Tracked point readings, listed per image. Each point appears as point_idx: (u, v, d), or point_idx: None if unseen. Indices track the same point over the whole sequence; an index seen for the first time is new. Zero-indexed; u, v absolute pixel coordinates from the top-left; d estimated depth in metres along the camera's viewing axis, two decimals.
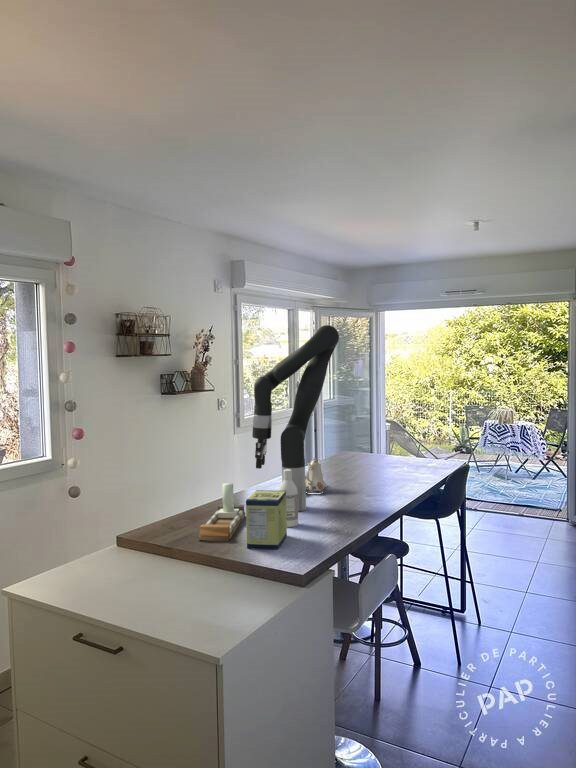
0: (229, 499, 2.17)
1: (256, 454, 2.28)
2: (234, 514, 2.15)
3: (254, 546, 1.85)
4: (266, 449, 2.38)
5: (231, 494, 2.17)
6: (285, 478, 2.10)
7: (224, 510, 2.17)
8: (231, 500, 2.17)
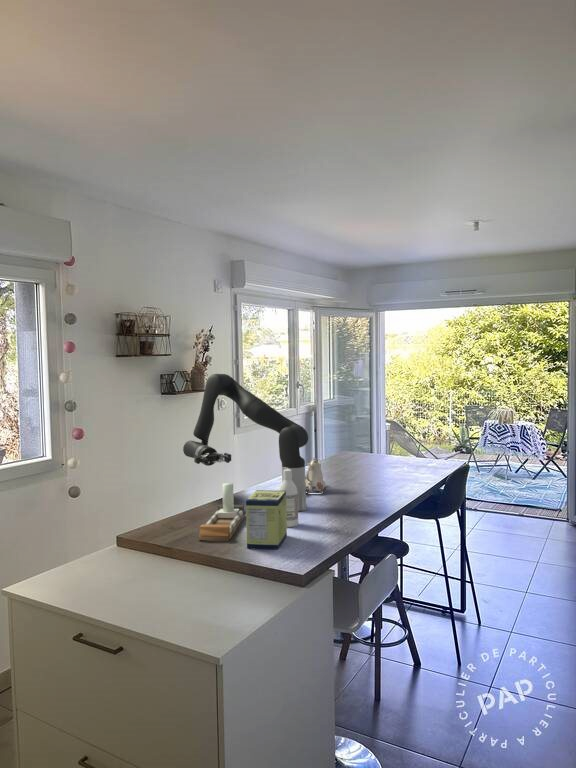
0: (229, 499, 2.17)
1: (196, 462, 2.31)
2: (234, 514, 2.15)
3: (254, 546, 1.85)
4: None
5: (231, 494, 2.17)
6: (285, 478, 2.10)
7: (224, 510, 2.17)
8: (231, 500, 2.17)
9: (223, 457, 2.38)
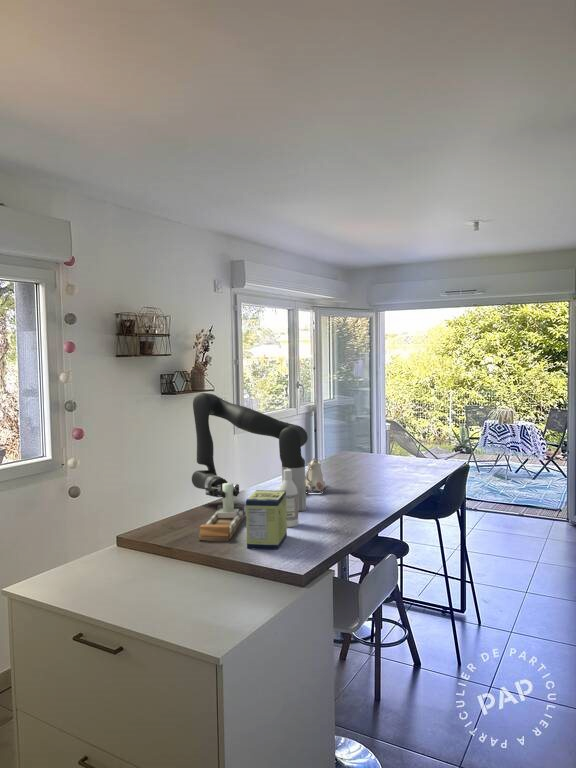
0: (229, 499, 2.17)
1: (212, 494, 2.19)
2: (234, 514, 2.15)
3: (254, 546, 1.85)
4: None
5: (231, 494, 2.17)
6: (285, 478, 2.10)
7: (224, 510, 2.17)
8: (231, 500, 2.17)
9: None
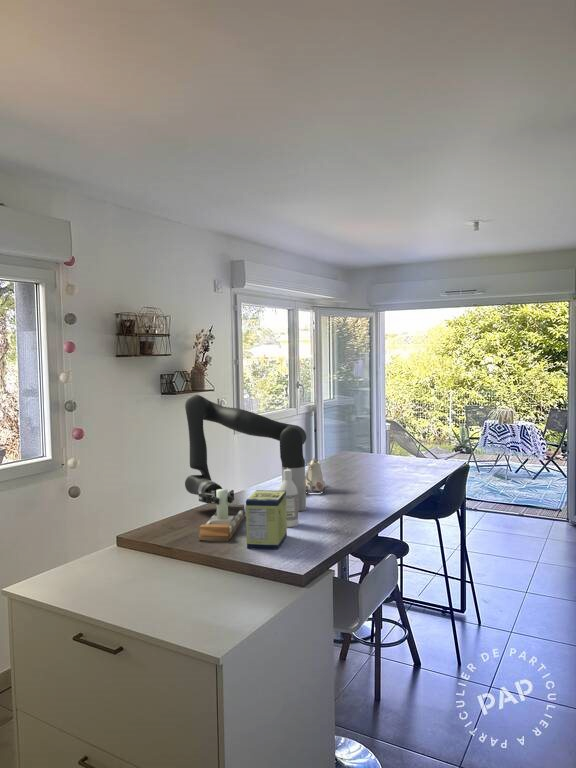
0: (223, 506, 2.06)
1: (205, 501, 2.08)
2: (228, 522, 2.05)
3: (254, 546, 1.85)
4: None
5: (225, 501, 2.07)
6: (285, 478, 2.10)
7: (218, 517, 2.07)
8: (225, 507, 2.07)
9: None
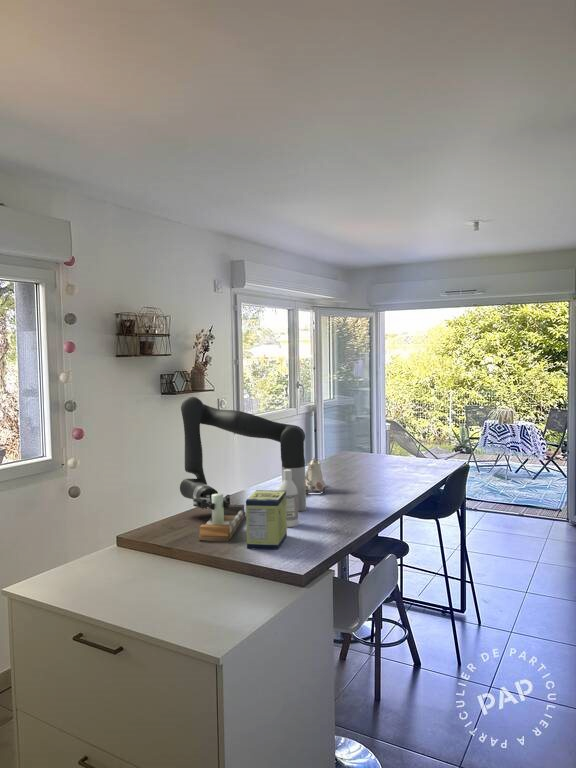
0: (219, 511, 1.99)
1: (200, 506, 2.01)
2: None
3: (254, 546, 1.85)
4: None
5: (221, 506, 1.99)
6: (285, 478, 2.10)
7: (213, 523, 1.99)
8: (221, 512, 1.99)
9: None
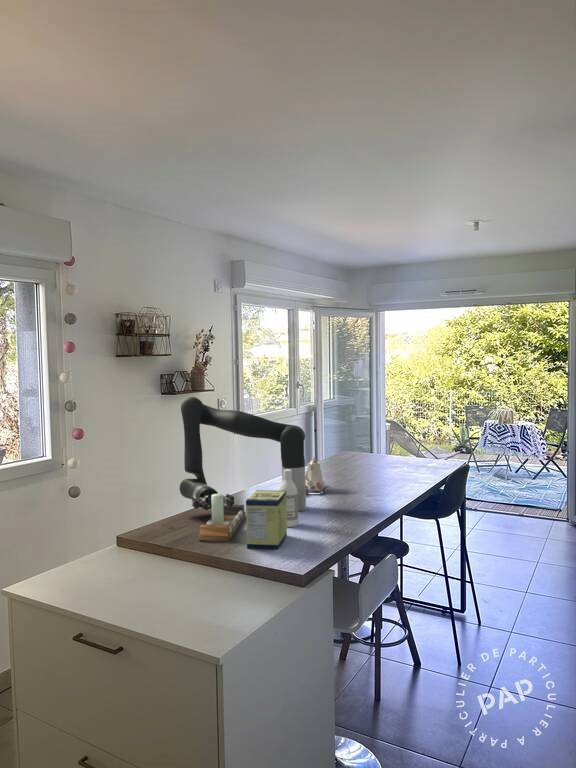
0: (218, 511, 1.99)
1: (194, 506, 2.01)
2: None
3: (254, 546, 1.85)
4: None
5: (221, 506, 1.99)
6: (285, 478, 2.10)
7: (213, 523, 1.99)
8: (221, 512, 1.99)
9: None
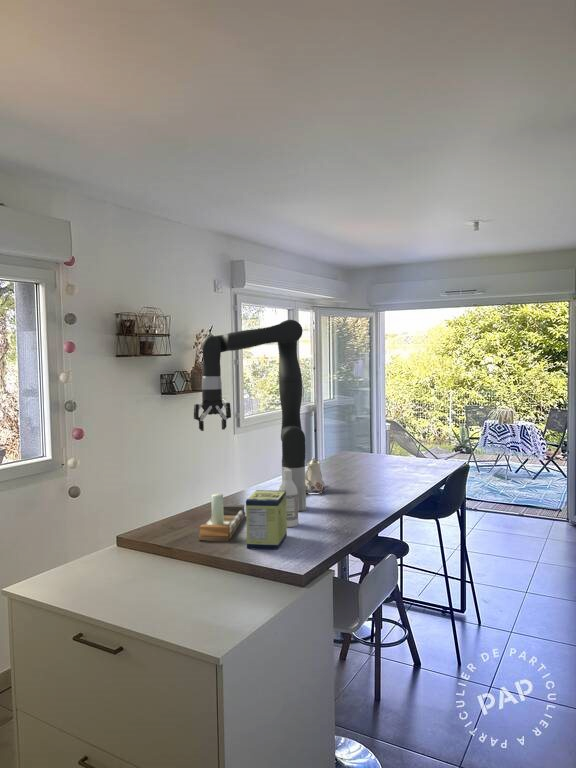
0: (218, 511, 1.99)
1: (194, 415, 2.24)
2: None
3: (254, 546, 1.85)
4: (222, 413, 2.26)
5: (221, 506, 1.99)
6: (285, 478, 2.10)
7: (213, 523, 1.99)
8: (221, 512, 1.99)
9: (224, 407, 2.28)
